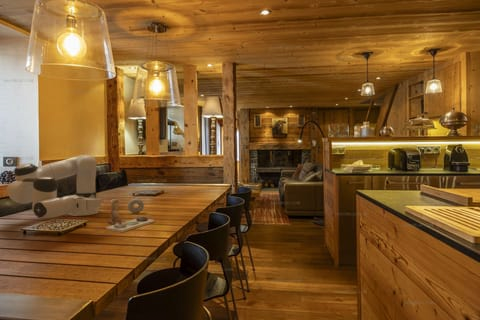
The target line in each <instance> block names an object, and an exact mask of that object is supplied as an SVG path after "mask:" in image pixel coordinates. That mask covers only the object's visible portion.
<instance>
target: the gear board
mask: <svg viewBox="0 0 480 320" xmlns="http://www.w3.org/2000/svg"><path fill="white" fill-rule="evenodd" d="M154 223H156V221H155V219H148V217H147V216H144V215H141V216H140V217H137V218H134V219H131V220H127V221H122V222H119V223H116V224H112V225H109V226H106V227H105V230H107V231H112V232H119V233H125V232H128V231H131V230H134V229H137V228H141V227H144V226H147V225H150V224H154Z"/></svg>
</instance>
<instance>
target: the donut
mask: <svg viewBox="0 0 480 320" xmlns="http://www.w3.org/2000/svg"><path fill="white" fill-rule="evenodd" d="M127 204H128V205H127V207H128V210H129V212H130V213H133V214H138V213H141V212H142V211H143V209H144V205H145V204H144V202H143V200H141V198H138V197H137V198H135V197H134V198H132V199H131V200H129V202H128V203H127ZM135 204H137V205H138V207H134V205H135Z"/></svg>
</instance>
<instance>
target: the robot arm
mask: <svg viewBox="0 0 480 320" xmlns="http://www.w3.org/2000/svg"><path fill="white" fill-rule="evenodd" d="M97 166H98V165H97V159H96V158H94V156H92V155H89V154H80V155H77V156H73V157H69V158H67V159H63V160H59V161H53V162H50V163H46V164H43V165H40V166H38V165H35V164H33V163H22V164H19V165H18V166H16V167H14V169H13V174H14V176H15V181H12V182H10V183H9V184H8V185H7V187H6V194H7V195H8V197H9V198H10V199H11V200H12V201H14V202H16V203H17V204H21V205H22V204H23V205H27V204H30V203H32V206H31V207H32V212H33V213H34V215H35V217H37V218H39V219H43V218H44V219H46V218H55V217H59V216H62V215H68V216H72V217H78V216H80V217H81V216H91V215H95V214H98V213H99V212H100V209H99V208H100V207H101V205H102V203H104V198H97V191H96V176H97ZM74 175H76V192H75V193H74V194H72V195H64V196H62V197H58V186H59V182H58V180H62V179H65V178H69V177H71V176H74Z"/></svg>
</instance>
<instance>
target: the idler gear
mask: <svg viewBox="0 0 480 320" xmlns="http://www.w3.org/2000/svg"><path fill="white" fill-rule="evenodd" d="M119 202H120V201H119V199H117V198H116V199H111V200H110V205H111V206H110V209H111V211H110V213H111V214H110V215H111V216H110V220H108V221H107V222H108V224H109V225H114V224H116V223H119V222H122V223H123V221H122V219H120V218H119V217H120V215H119V213H120V207H119V205H120V203H119Z"/></svg>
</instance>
